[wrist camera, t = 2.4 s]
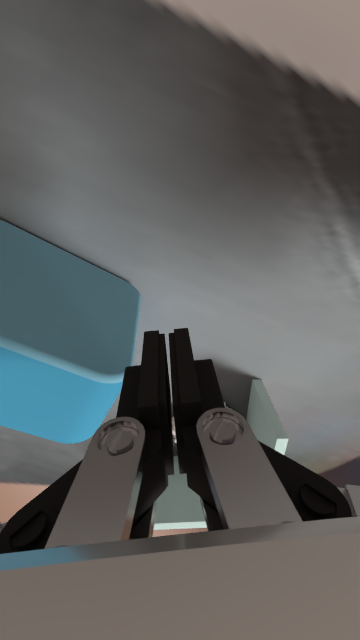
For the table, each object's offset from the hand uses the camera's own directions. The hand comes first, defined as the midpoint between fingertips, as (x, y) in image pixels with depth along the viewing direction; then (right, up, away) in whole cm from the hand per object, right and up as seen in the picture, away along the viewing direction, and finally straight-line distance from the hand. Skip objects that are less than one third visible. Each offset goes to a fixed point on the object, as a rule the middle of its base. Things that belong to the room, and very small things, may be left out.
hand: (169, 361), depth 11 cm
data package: (-9, +5, +11) cm, 15 cm away
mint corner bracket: (+2, -9, +20) cm, 22 cm away
